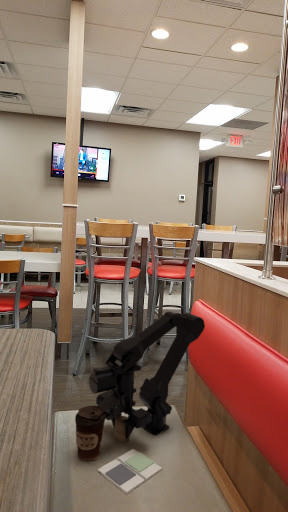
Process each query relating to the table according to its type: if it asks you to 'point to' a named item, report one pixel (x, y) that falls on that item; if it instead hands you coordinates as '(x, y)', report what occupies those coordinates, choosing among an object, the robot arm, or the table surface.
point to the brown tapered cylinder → (120, 430)
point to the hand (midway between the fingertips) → (121, 434)
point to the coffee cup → (89, 431)
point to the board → (129, 470)
